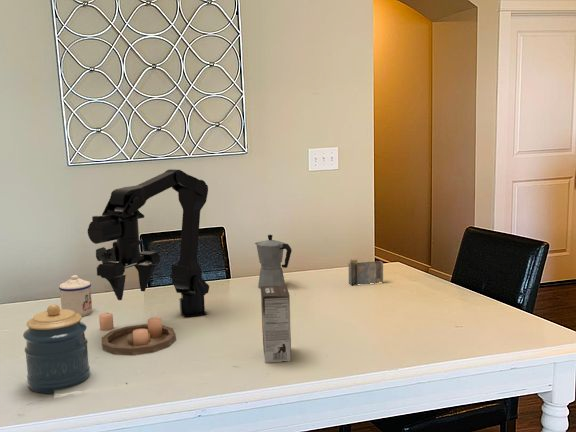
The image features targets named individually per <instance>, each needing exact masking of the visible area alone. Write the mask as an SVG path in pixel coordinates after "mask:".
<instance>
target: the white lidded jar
mask: <svg viewBox="0 0 576 432" xmlns="http://www.w3.org/2000/svg"><path fill="white" fill-rule="evenodd" d="M91 287H92V284H91V282H90V281H88V280H85V279H82V278H79V276H78V274H75V275H71V276H70V278H69V279H68V280H66V281H64V282H63V283H60V285H59V287H58V290H59V293H60V294H59V295H60V307H61V309H68V310H72V311H74V312H75V313H78V314H80V315H81V316H82V317H85V316H88V315H90V314H92V312H93V305H92V302H93V301H92V291H91Z"/></svg>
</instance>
